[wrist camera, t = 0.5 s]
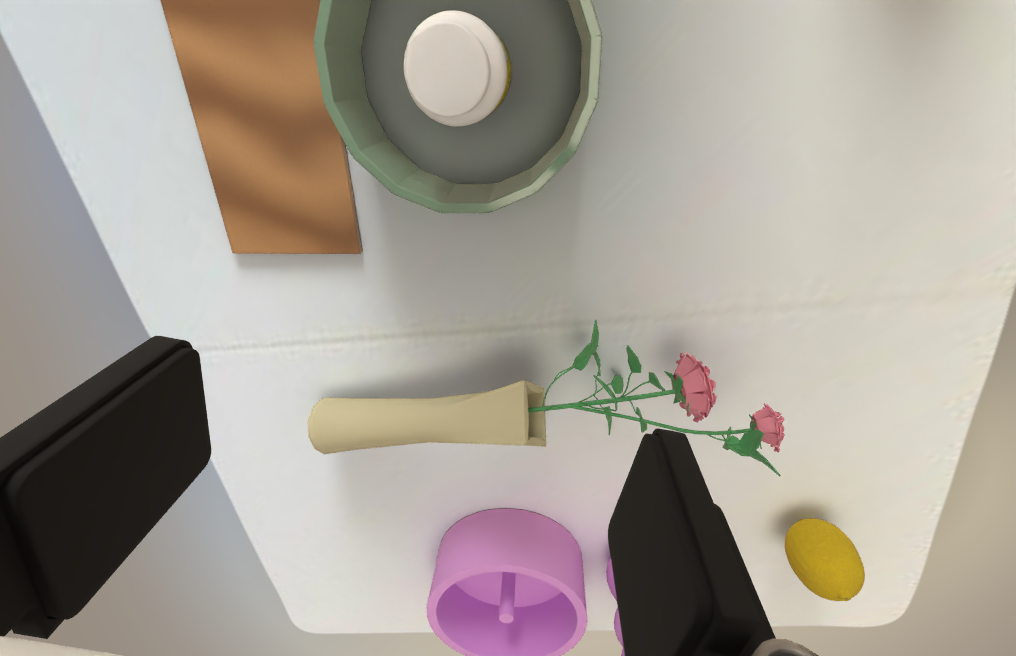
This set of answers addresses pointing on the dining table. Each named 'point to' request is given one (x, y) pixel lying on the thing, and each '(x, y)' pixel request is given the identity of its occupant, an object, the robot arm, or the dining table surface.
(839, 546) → the lemon
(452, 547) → the container set
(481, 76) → the supplement bottle
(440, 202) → the bowl
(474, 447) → the dining table surface
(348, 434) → the flower vase
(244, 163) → the wooden board
